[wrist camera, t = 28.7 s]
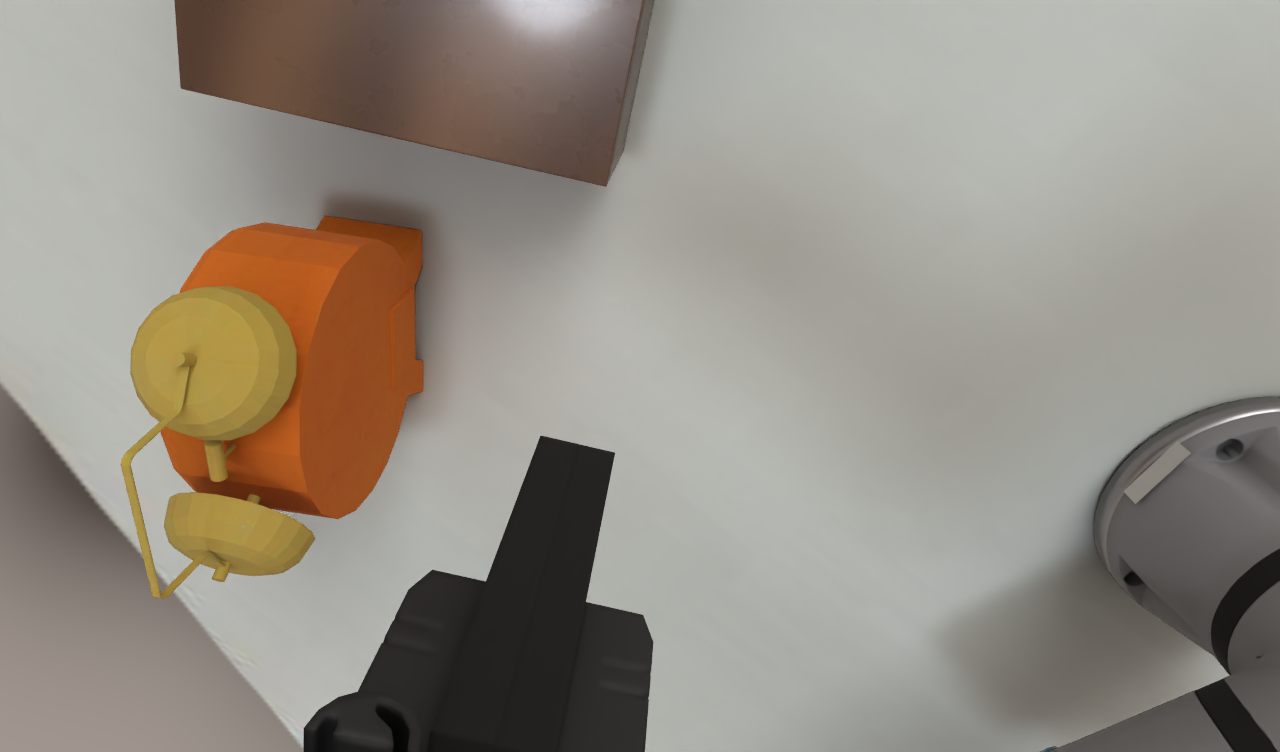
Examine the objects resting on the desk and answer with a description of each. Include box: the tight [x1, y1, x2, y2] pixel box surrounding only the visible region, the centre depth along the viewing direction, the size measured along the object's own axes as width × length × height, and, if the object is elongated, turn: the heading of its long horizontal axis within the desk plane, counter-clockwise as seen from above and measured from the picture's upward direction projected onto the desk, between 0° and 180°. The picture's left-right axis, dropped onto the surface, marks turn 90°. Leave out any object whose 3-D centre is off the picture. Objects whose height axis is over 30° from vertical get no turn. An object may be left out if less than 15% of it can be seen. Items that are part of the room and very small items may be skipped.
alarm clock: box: [121, 216, 423, 599], centre depth 33 cm, size 13×6×20 cm, turn 173°
